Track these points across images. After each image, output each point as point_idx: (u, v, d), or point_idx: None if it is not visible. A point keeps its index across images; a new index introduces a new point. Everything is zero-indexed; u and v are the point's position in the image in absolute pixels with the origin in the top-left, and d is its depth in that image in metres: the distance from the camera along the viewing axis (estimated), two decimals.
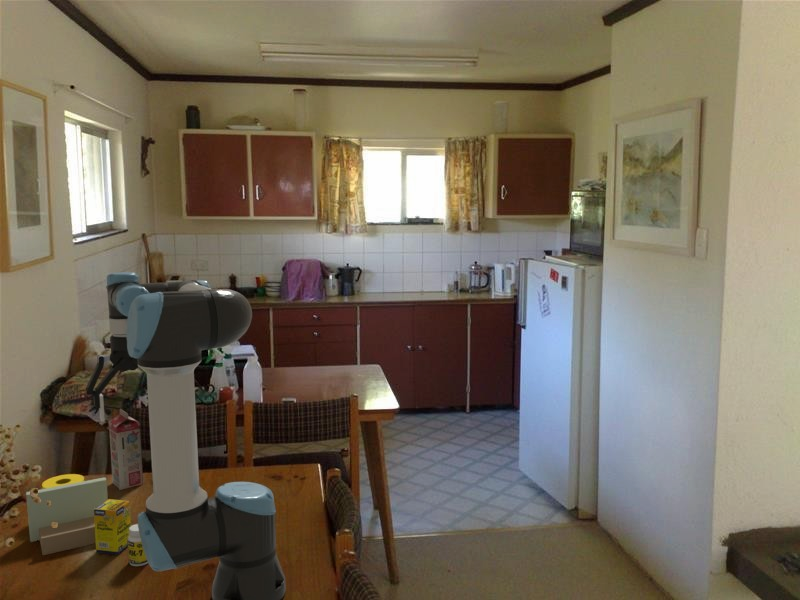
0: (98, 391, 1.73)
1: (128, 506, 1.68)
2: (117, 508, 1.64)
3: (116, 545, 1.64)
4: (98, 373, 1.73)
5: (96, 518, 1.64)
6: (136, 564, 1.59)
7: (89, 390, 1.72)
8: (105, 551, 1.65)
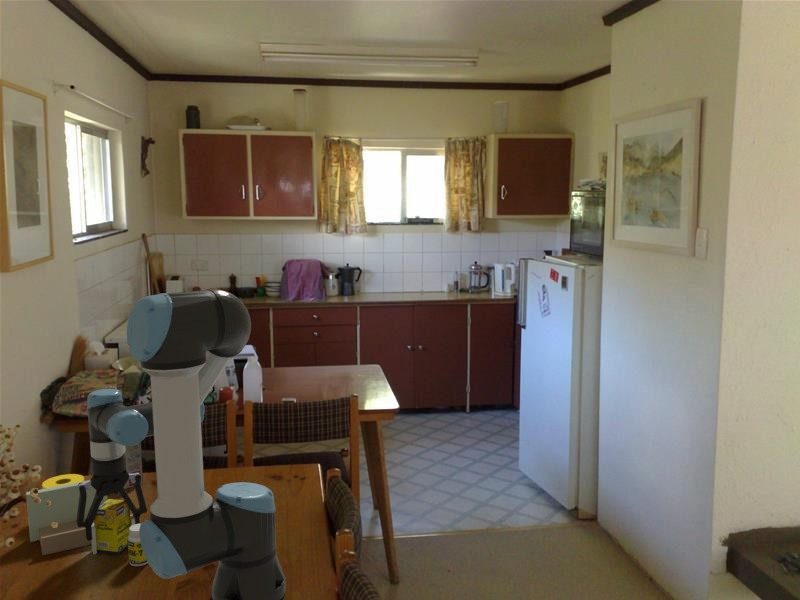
0: (89, 522, 1.63)
1: None
2: (117, 508, 1.64)
3: (116, 545, 1.64)
4: (83, 503, 1.62)
5: (96, 518, 1.64)
6: (136, 564, 1.59)
7: (80, 523, 1.62)
8: (105, 551, 1.65)
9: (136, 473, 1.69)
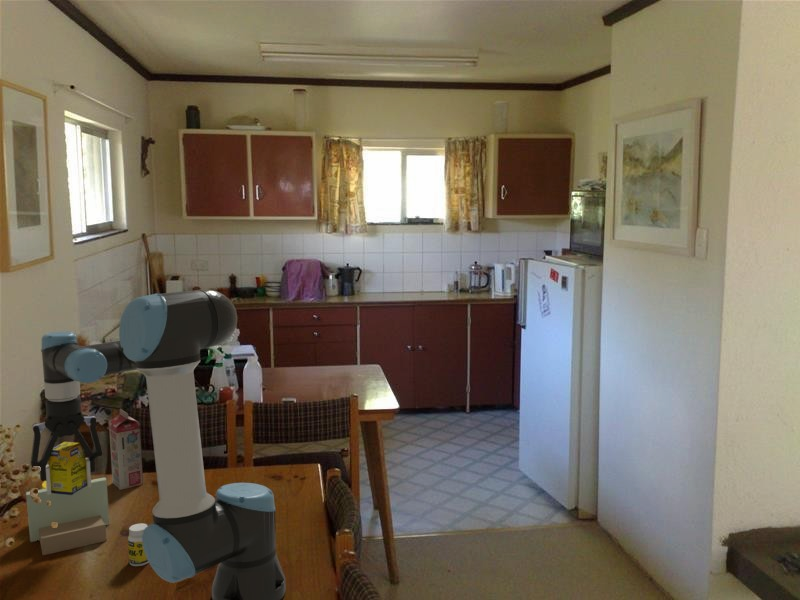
0: (43, 463, 1.65)
1: None
2: (71, 449, 1.66)
3: (70, 485, 1.66)
4: (37, 443, 1.63)
5: (50, 459, 1.66)
6: (136, 564, 1.59)
7: (33, 463, 1.63)
8: (59, 492, 1.66)
9: (91, 416, 1.70)
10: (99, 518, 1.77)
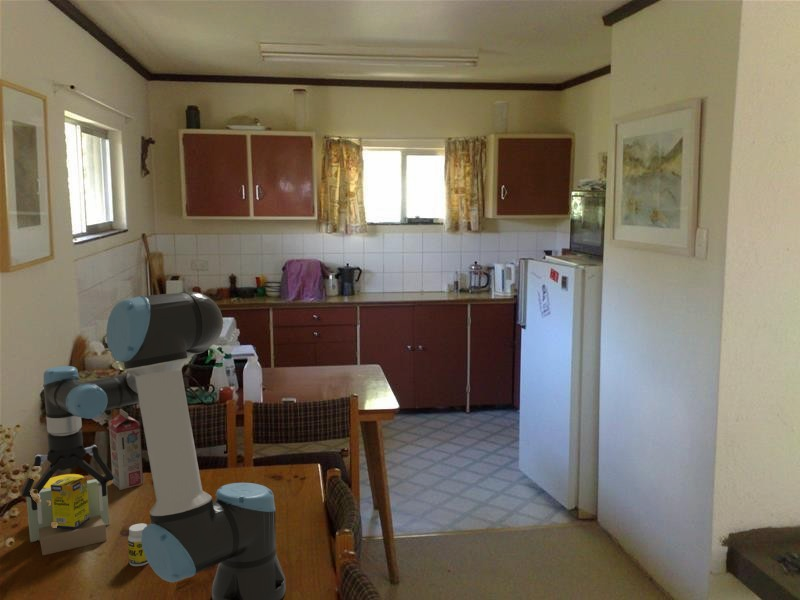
0: None
1: (85, 482, 1.72)
2: (73, 483, 1.68)
3: (73, 520, 1.68)
4: None
5: (53, 494, 1.68)
6: (136, 564, 1.59)
7: (25, 492, 1.65)
8: (62, 526, 1.69)
9: (92, 446, 1.72)
10: (99, 518, 1.77)
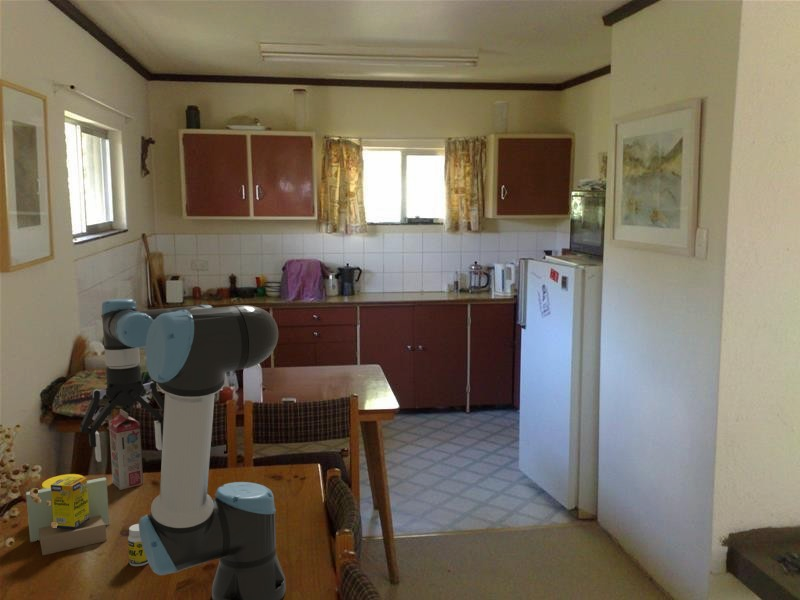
0: (94, 428, 1.60)
1: (85, 482, 1.72)
2: (73, 483, 1.68)
3: (73, 520, 1.68)
4: (94, 409, 1.59)
5: (53, 494, 1.68)
6: (136, 564, 1.59)
7: (84, 428, 1.58)
8: (62, 526, 1.69)
9: (150, 382, 1.67)
10: (99, 518, 1.77)
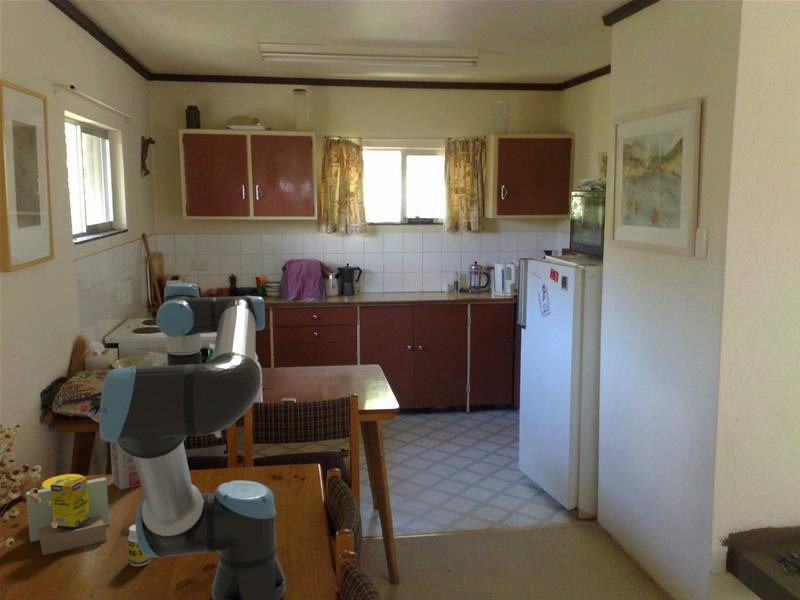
0: None
1: (85, 482, 1.72)
2: (73, 483, 1.68)
3: (73, 520, 1.68)
4: None
5: (53, 494, 1.68)
6: (136, 564, 1.59)
7: None
8: (62, 526, 1.69)
9: None
10: (99, 518, 1.77)
